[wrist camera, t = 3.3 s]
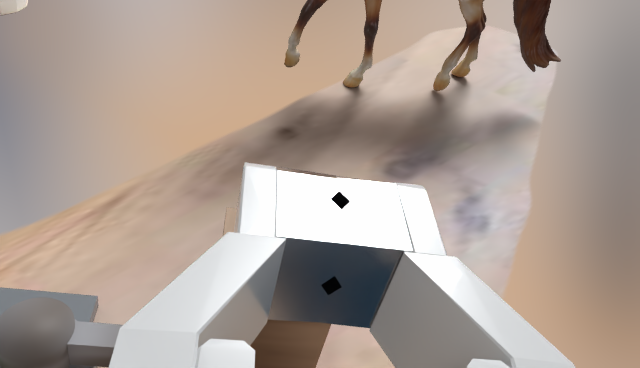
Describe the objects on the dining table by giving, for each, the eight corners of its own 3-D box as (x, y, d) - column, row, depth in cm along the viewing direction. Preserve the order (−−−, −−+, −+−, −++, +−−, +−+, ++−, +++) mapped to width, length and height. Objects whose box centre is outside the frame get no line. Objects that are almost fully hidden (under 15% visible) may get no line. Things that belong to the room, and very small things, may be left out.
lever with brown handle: (-223, 369, 22) (-354, 195, 16) (-173, 306, 25) (-270, 134, 19) (308, 402, 26) (358, 269, 20) (306, 343, 28) (350, 210, 22)
